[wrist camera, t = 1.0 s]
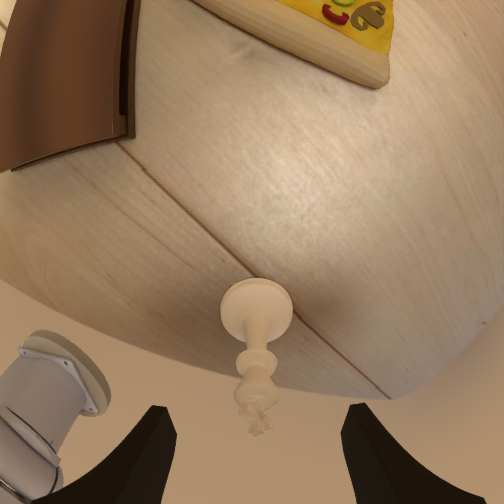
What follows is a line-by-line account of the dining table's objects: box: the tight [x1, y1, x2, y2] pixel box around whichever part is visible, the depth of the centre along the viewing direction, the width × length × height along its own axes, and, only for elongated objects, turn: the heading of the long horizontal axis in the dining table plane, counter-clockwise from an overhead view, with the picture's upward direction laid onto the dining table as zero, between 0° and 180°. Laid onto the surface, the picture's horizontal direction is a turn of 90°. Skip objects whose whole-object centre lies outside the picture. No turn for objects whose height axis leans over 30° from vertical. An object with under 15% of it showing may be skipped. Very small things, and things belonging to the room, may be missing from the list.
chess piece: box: [220, 278, 293, 436], centre depth 14 cm, size 5×5×10 cm
